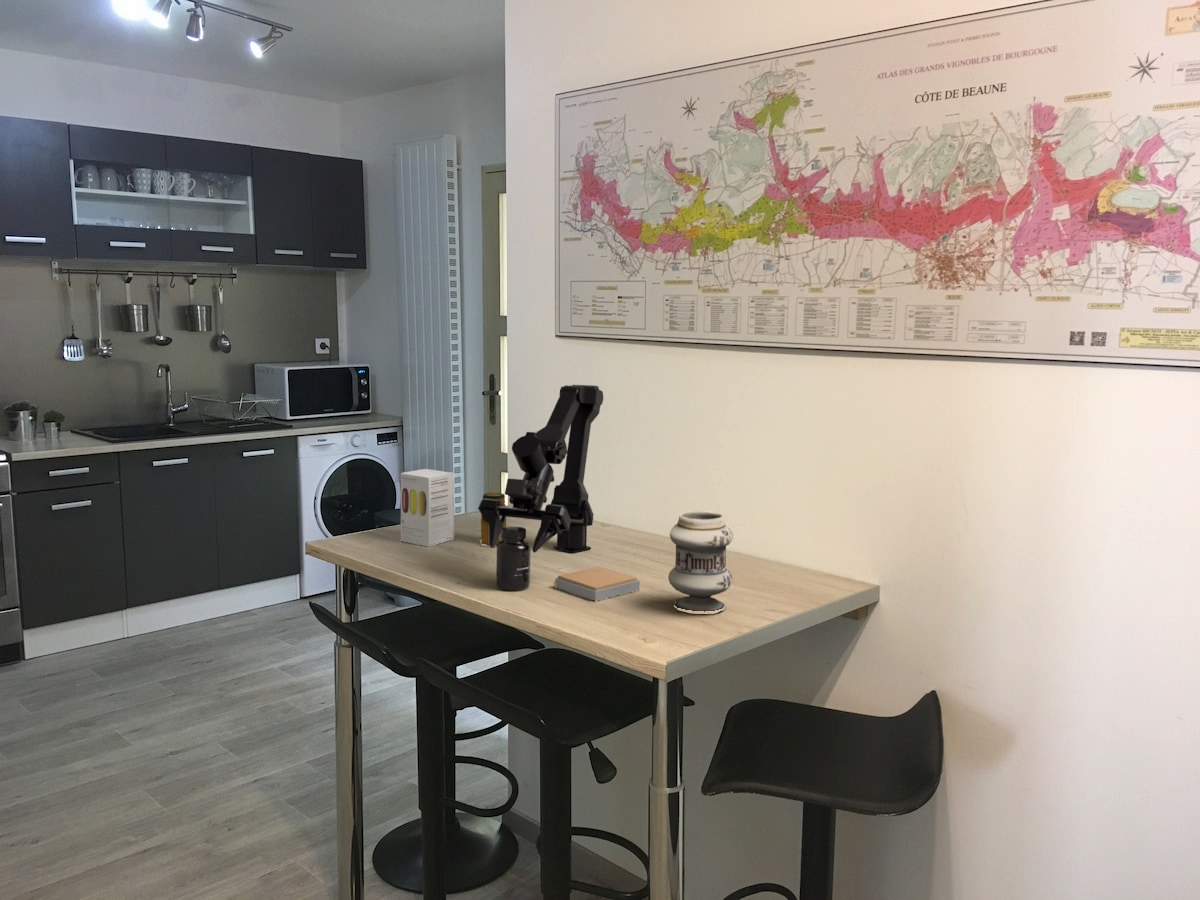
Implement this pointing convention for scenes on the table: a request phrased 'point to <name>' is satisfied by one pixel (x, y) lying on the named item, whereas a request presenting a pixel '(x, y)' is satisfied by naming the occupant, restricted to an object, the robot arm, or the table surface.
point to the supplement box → (427, 507)
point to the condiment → (485, 526)
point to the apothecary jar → (700, 560)
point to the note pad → (596, 583)
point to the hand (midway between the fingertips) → (512, 549)
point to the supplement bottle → (513, 560)
